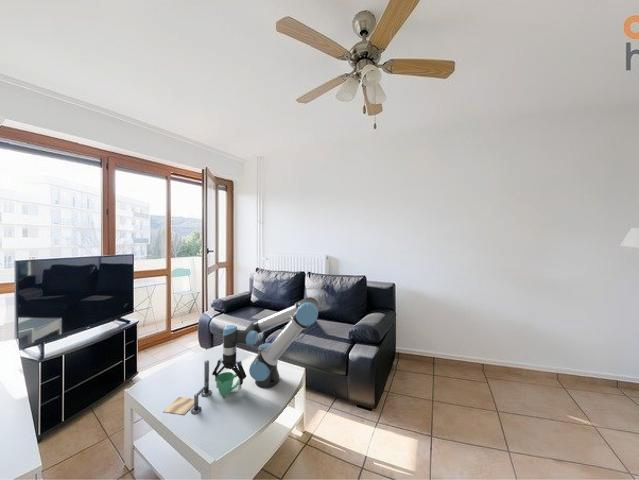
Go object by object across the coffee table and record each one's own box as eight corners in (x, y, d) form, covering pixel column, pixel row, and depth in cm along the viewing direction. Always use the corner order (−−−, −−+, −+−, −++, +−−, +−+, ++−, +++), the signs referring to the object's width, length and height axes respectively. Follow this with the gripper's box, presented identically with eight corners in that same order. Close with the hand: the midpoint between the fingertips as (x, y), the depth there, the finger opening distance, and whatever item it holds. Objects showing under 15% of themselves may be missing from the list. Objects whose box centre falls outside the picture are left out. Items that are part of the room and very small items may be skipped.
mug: (218, 401, 145) (219, 383, 144) (213, 392, 152) (214, 375, 152) (244, 391, 153) (244, 375, 153) (238, 383, 161) (238, 367, 161)
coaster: (198, 400, 145) (198, 399, 145) (184, 415, 133) (184, 414, 133) (179, 397, 147) (179, 396, 147) (163, 412, 135) (163, 411, 135)
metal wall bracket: (217, 391, 153) (218, 360, 152) (197, 414, 134) (197, 378, 133) (204, 390, 154) (205, 358, 153) (183, 412, 135) (183, 376, 134)
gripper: (252, 351, 154) (251, 387, 155) (213, 347, 158) (212, 381, 158) (247, 357, 146) (246, 394, 147) (206, 353, 150) (205, 389, 151)
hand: (228, 388), depth 153 cm, fingers open, 13 cm apart
